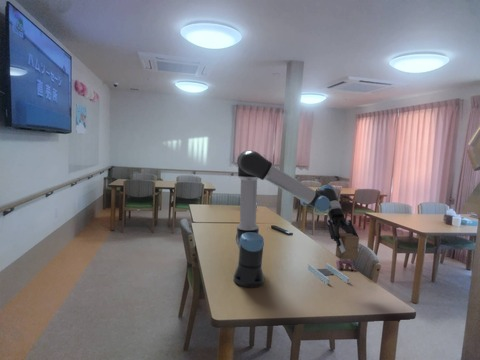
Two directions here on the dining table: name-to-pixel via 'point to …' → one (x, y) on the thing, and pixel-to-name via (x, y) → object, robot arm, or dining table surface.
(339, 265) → the video game controller
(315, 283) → the dining table surface
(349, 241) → the walnut block
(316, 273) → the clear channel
